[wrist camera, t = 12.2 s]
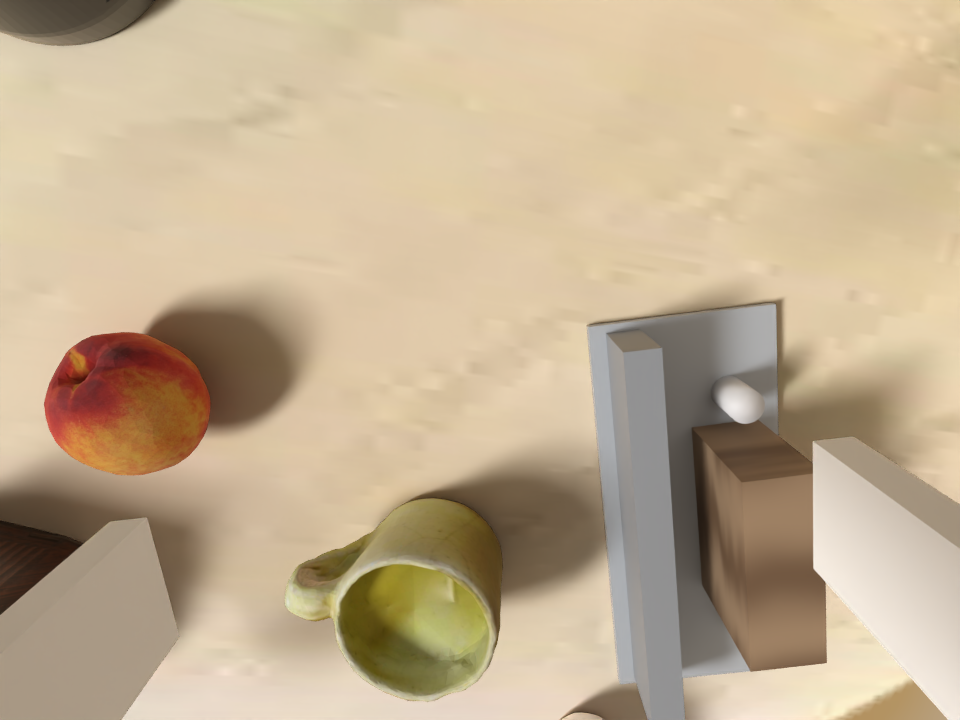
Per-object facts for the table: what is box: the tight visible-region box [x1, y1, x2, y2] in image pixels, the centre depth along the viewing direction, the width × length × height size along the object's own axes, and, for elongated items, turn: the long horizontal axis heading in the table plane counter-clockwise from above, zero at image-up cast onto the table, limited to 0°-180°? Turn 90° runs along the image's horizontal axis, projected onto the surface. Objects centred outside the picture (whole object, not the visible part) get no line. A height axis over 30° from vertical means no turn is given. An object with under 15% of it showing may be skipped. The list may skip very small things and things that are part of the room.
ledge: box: [587, 303, 778, 720], centre depth 39 cm, size 25×11×6 cm, turn 7°
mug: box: [285, 498, 503, 702], centre depth 39 cm, size 12×10×10 cm
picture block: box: [692, 420, 827, 672], centre depth 37 cm, size 11×4×8 cm, turn 8°
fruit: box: [44, 332, 211, 475], centre depth 36 cm, size 8×8×8 cm
